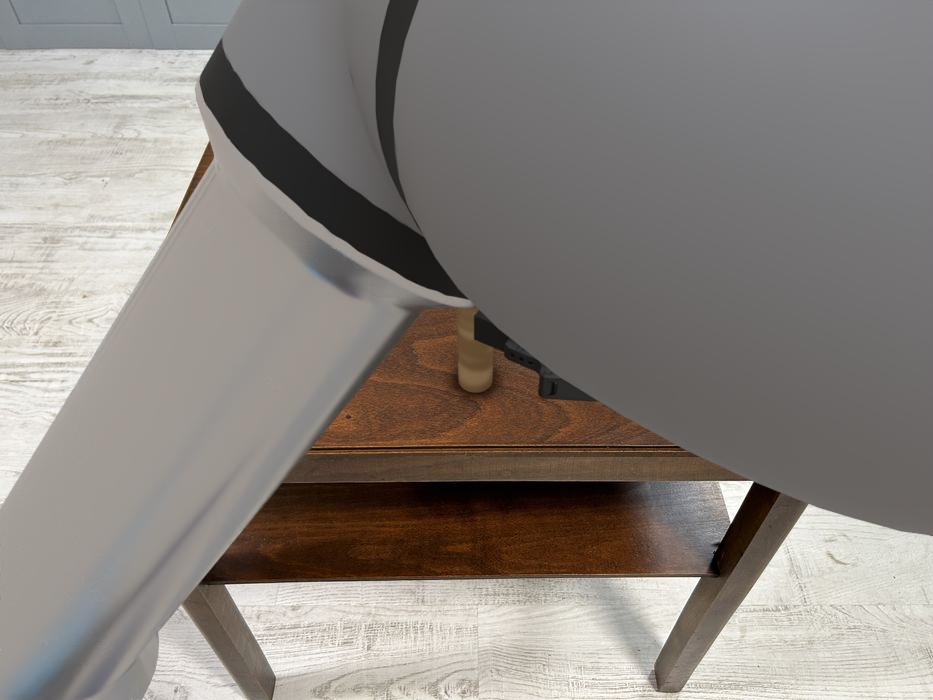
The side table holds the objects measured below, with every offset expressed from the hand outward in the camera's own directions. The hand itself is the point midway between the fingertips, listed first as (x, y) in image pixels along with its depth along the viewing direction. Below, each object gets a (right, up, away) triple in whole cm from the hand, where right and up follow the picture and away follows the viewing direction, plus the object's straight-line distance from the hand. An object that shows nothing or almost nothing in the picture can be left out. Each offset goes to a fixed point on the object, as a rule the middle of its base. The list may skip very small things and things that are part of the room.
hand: (514, 279), depth 64 cm
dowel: (-3, -9, +12) cm, 16 cm away
